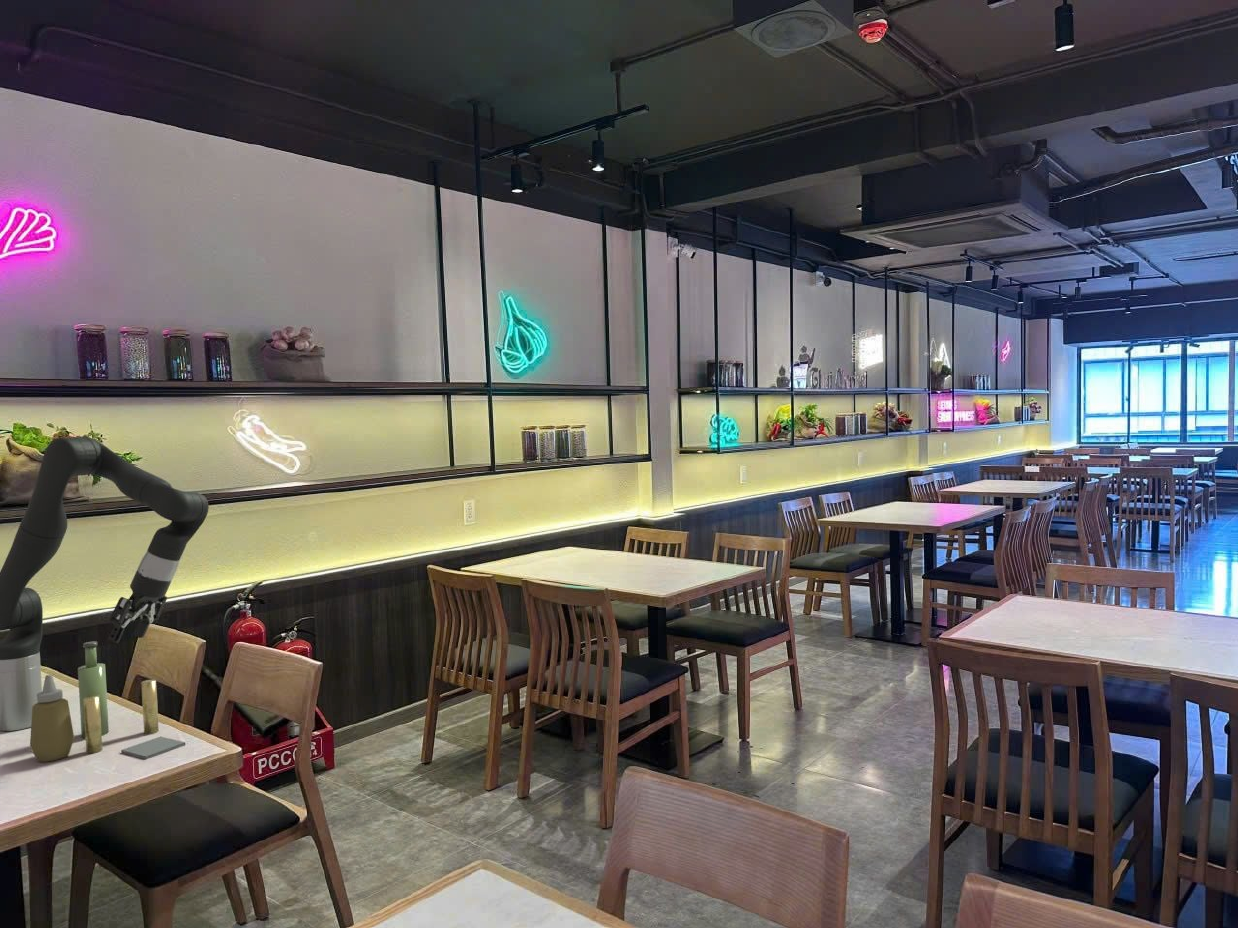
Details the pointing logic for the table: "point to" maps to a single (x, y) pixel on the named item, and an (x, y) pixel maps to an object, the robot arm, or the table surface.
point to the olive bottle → (93, 685)
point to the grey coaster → (153, 747)
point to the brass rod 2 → (150, 706)
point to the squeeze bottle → (51, 724)
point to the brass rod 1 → (92, 724)
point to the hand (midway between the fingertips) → (125, 638)
